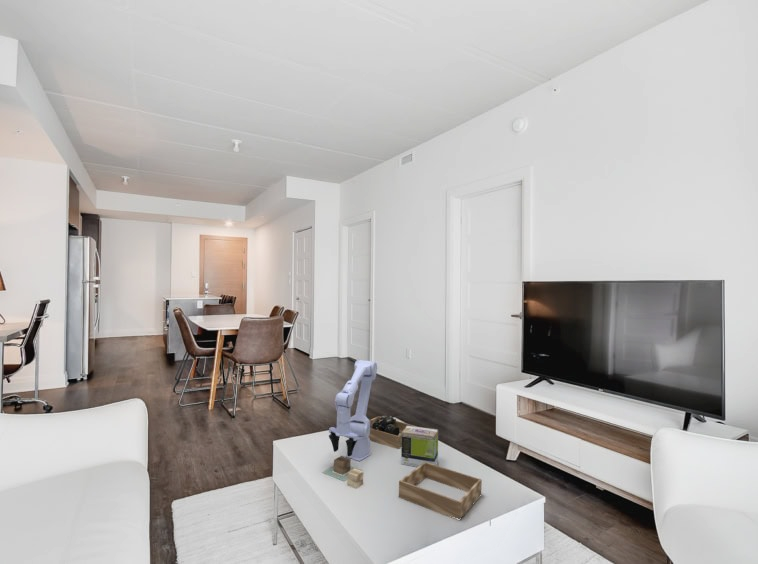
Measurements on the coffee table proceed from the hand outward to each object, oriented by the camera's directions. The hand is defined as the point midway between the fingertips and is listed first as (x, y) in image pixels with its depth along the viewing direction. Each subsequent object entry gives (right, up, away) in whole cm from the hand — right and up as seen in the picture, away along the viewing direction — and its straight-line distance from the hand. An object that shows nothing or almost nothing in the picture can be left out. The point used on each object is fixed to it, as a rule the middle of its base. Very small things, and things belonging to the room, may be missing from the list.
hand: (342, 453), depth 168 cm
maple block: (+6, -8, -10) cm, 14 cm away
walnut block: (0, -8, 0) cm, 8 cm away
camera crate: (+20, -9, +39) cm, 45 cm away
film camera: (+20, -9, +39) cm, 45 cm away
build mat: (0, -8, 0) cm, 8 cm away
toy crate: (+39, -9, -17) cm, 43 cm away
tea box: (+34, -9, +10) cm, 36 cm away
